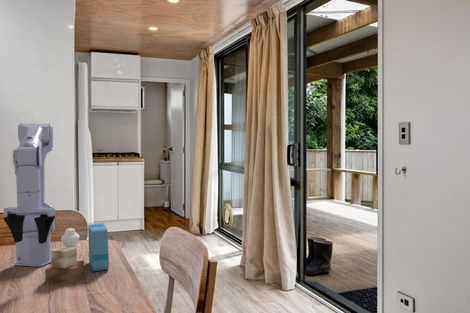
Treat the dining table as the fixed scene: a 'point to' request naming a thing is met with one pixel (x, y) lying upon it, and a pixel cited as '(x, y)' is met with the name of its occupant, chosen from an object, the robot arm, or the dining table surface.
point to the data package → (98, 247)
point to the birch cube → (64, 257)
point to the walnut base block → (64, 273)
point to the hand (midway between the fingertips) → (30, 242)
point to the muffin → (70, 238)
